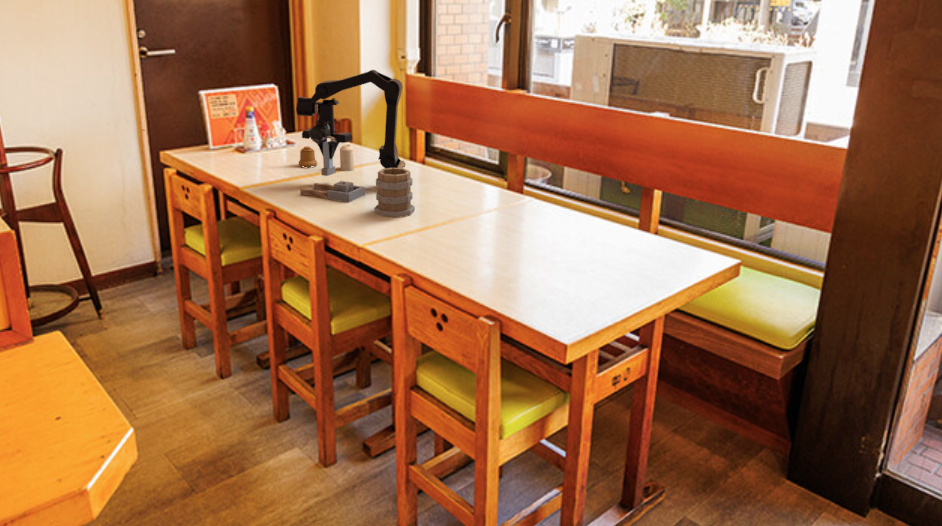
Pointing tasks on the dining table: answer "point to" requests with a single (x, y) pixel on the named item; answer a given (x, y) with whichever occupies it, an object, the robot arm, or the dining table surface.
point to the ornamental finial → (307, 157)
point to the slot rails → (316, 192)
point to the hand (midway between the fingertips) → (328, 158)
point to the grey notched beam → (327, 161)
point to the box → (346, 194)
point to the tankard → (394, 192)
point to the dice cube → (343, 186)
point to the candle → (347, 157)
